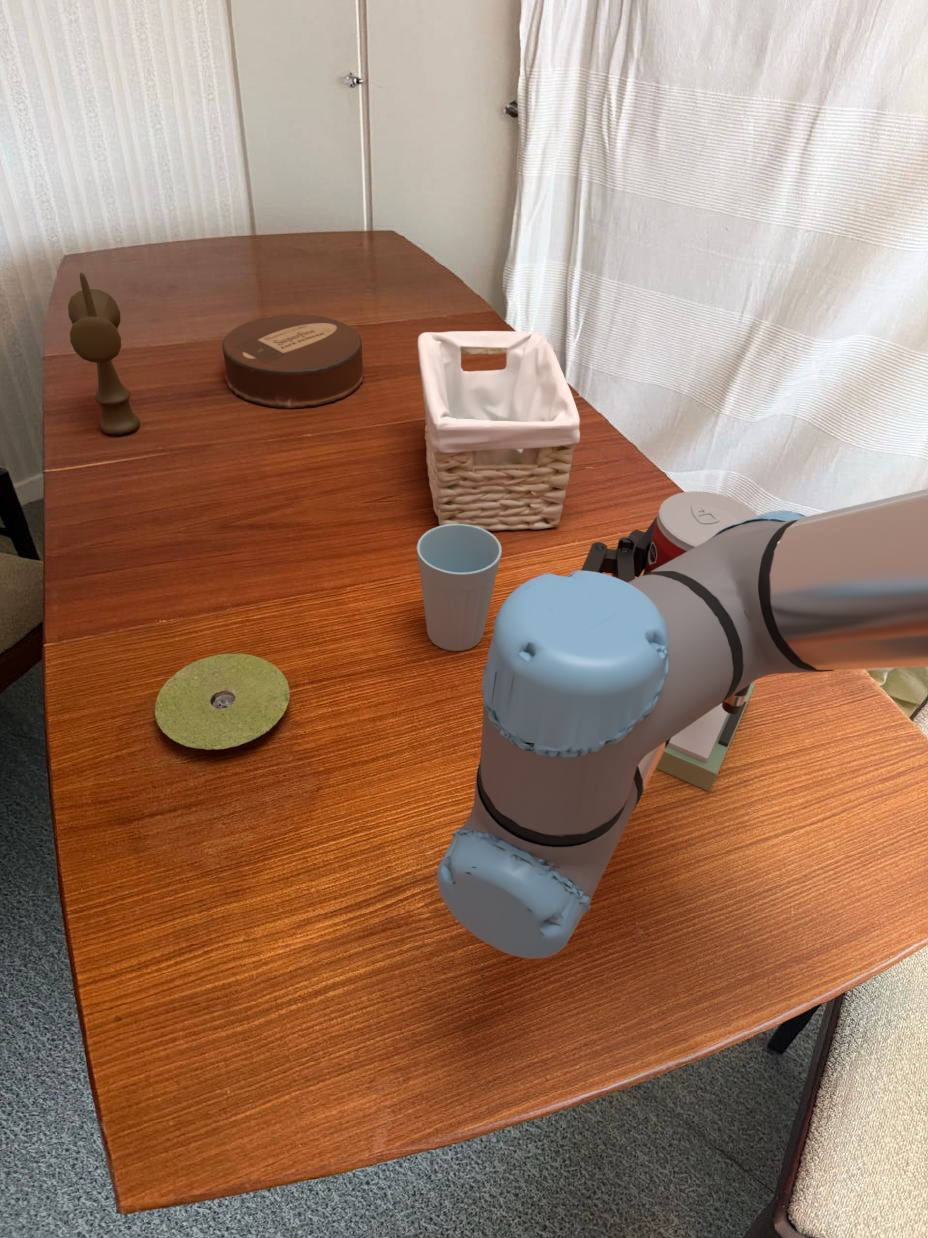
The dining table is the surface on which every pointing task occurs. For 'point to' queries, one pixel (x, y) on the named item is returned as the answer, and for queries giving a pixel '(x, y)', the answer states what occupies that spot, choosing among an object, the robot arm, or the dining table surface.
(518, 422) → the basket
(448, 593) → the cup
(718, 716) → the scale
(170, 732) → the green grinding disc
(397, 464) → the dining table surface
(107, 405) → the kendama
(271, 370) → the container
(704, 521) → the canned food
